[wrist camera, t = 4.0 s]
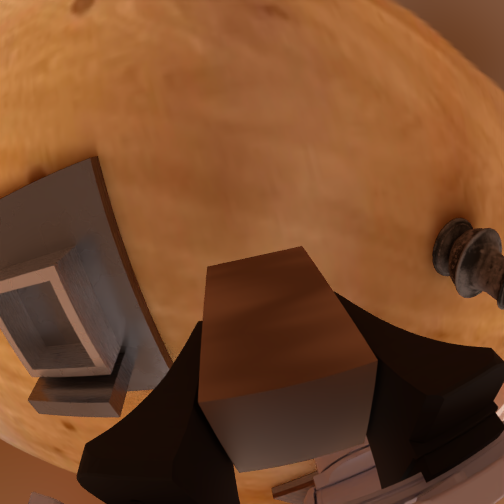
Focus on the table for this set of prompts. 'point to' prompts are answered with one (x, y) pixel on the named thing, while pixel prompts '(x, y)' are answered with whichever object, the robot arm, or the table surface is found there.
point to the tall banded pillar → (294, 489)
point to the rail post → (281, 363)
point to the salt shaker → (471, 259)
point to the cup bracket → (74, 297)
